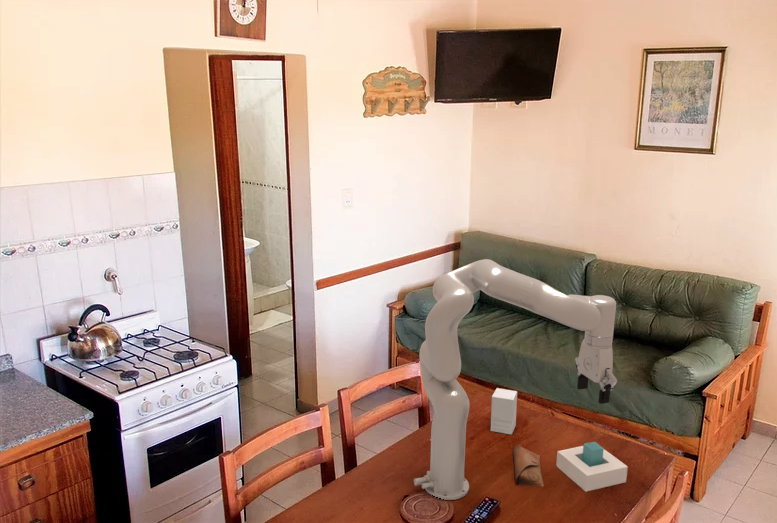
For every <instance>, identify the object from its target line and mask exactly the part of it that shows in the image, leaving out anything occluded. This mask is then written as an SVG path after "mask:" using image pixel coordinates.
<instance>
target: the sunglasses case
mask: <svg viewBox="0 0 777 523" xmlns="http://www.w3.org/2000/svg"><path fill="white" fill-rule="evenodd" d="M512 450H513V452H512V453H513V454H512V455H513V464H514V466H513V467H514V478H515V479H514V480H515V483H516V485H518V486H529V487H530V486H533V487H545V482H544V479H543V474H542V469H541V468H542V467H541V455H540V454H538V453H535V452H533V451H531V450H529V449H526V448H524V447H523V446H521V445H520V444H516V445H514V447H513V448H512Z"/></svg>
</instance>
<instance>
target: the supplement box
mask: <svg viewBox="0 0 777 523" xmlns="http://www.w3.org/2000/svg"><path fill="white" fill-rule="evenodd" d="M517 405H518V391H517V390H512V389H505V388H499V387H496V389H495V390H494V392H493V394H492V395H491V407H490V409H491V410H490V411H491V412H490V413H491V414H490V432H494V433H500V434H506V435H512V436H513V432H514V430H515V427H516V426H517V424H516V423H517Z"/></svg>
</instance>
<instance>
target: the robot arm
mask: <svg viewBox="0 0 777 523" xmlns="http://www.w3.org/2000/svg"><path fill="white" fill-rule="evenodd" d="M479 291H481V292H483V293H484V294H486V295H487V296H489V297H492V298H493V299H497V300H500V301H503V302H506V303H508V304H511V305H514V306H517V307H519V308H523V309H525V310H528V311H530V312H531V313H534V314H537V315H539V316H542V317H545V318H546V319H550V320H552V321H555V322H557V323H559V324H561V325H564V326H567V327H569V328H572V329H575V330H579V331H582V332H584V339H583V340H582V341H581V345H580V348H579V353H578V357H575V358H574V359H575V364H576V365H575V368H576V370H577V373H576V374H577V379H578V380H577V387H576V388H577V390H578V391H579V390H586V389H588V386H589V380H590V381H593V383H598V384H599V386H600V389H599V392H598V404H601V405H602V404H608V403H609V402H610V398H611V391H613V389H614V388H615V387H616V384H617V383H618V379H617V377H616V376H615V375H614V373H613V366H614V359H613V358H614V357H613V356H614V355H613V354H614V353H613V339H614V332H615V331H614V330H615V321H616V320H615V319H616V311H617V301H616V300H615V298H614V297H611V296H609V295H603V294H596V295H592V296H591V295H580V294H566V293H563V292H561V291H559V290H557V289H556V288H554V287H552V286H550V285H549V284H548V283H545V282H543V281H541V280H539V279H536V278H534V277H531V276H528V275H525V274H523V273H520V272H517V271H515V270H512V269H510V268H507V267H504V266H503V265H500V264H499V263H497V262H495V261H494V260H492V259H489V258H485V259H483V258H482V259H479V260H476V261H473V262H471V263H468V264H466V265H464V266H461V267H459V268H455V269H454V270H452V271H448V272H447V273H444V274H442V275H441V276H439V277H438V278H437V279H436V280H435V282H434V284H433V285H432V295H433V298H434V300H435V301H436V303H435V304H434V306H433V307H432V308H431V310H430V311H429V312H428V315H427V317H426V319H425V323H424V331H425V333H424V334H425V340H424V341H423V342H422V344H421V346H420V348H419V354H418V355H419V364H420V371H421V378H422V385H423V389H424V392H425V394H426V395H425V396H426V397H427V398H428V400H429V402H430V404H431V405H432V408H433V418H432V421H431V429H430V430H431V432H430V433H431V434H430V436H431V437H430V461H429V462H430V466H429V467H430V468H429V470H427V471H426V474H425V475H423V477H415V478H413V485H414V486H415V487H416V486H420V485H421V488H422V489H423V490H424V489H425V491H426V492H427V494H429V495H430V494H431V495H430V496H432V495H433V496H435V497H434V498H436V497H438V498H437V499H439V498H441V499H440V500H443V499H444V500H445V501H452V500H458V499H462V498H464V497H465V496H466V495H468V493H469V490H470V483H469V481H468V480H467V478H465V462H466V460H465V459H466V441H467V440H466V439H467V438H466V434H467V422H468V417H469V412H470V399H469V396H468V394H467V392H466V390H465V389H464V388H463V386H462V385H461V383H459V381H458V380H457V378H458V377H459V375H460V374H461V370H462V359H461V353H460V347H459V345H460V344H459V340H458V337H459V336H458V335H459V334H458V327H459V324H460V322H461V321H462V320H463V319H464V317H465V316H467V315H468V314H469V313H470V311H471V310H472V308H473V306H474V303H475V297H474V294H475V293H476V292H479ZM433 496H432V497H433Z"/></svg>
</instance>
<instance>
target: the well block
mask: <svg viewBox="0 0 777 523" xmlns="http://www.w3.org/2000/svg"><path fill="white" fill-rule="evenodd" d="M556 452H557V454H556V467H557V468H558V469H559V470H560V471H561V472H563V474H565V475H566V476H567V478H569V479H570V480H571V481H573V482H574V483H575V484H576V485H577V486H578V487H579V488H581V489H582V490H583V491H584V492H590V491H594V490H599V489H602V488H603V489H604V488H606V487H611V486H616V485H620V484H625V483H627V478H628V477H627V476H628V468H629V466H627V465H626V464H625V463H623V462H622V461H621V460H619V459H618V458H617V457H616V456H614V455H613V454H612V453H610V452H609V451H607V450H606V449H604V450H603V460H602V464H601V465H596V466H592V467H589V466H588V465H586V464H585V463H584V462H583V461H582V456H583V445H580V446H576V447H571V448H567V449H566V448H564V449H562V450H557V451H556Z"/></svg>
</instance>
